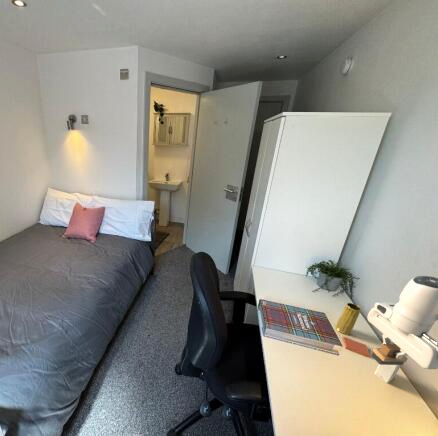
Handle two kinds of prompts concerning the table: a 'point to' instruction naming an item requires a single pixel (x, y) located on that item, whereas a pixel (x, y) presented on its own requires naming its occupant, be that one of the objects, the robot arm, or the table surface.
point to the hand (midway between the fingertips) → (391, 351)
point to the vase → (348, 318)
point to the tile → (356, 346)
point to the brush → (388, 355)
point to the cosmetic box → (387, 372)
